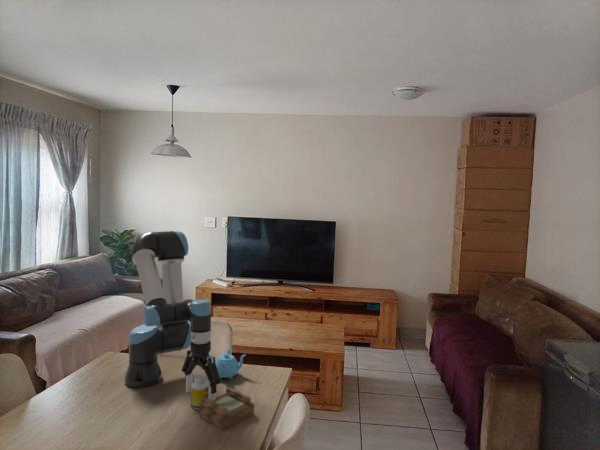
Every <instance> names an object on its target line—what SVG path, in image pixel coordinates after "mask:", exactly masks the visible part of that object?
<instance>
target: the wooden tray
mask: <svg viewBox="0 0 600 450" xmlns="http://www.w3.org/2000/svg"><path fill="white" fill-rule="evenodd" d="M225 389H226V390H225V393H222V394H221V395H219V396H217V397H216V399H215V401H211V400H209V399H207V398H204V399H203V404H202V405H200V406H199V409H198V413H199V417H200V418H202V419H203V420H206V422H209V423H211V424H212V425H214V426H216V427H218V428H220V429H222V430H224V431H227V430H229V429H230V428H232V427H234V426H235V425H237V424H239V423H241V422H243V421H244V420H246V419H248V418H249V417H251V416H253V415H255V414H254V413H255V403H253V402H252V400H251V396H249V395H247V394H245V393H242V392H241V391H239V390H236V389H233V388H231V387H226V388H225Z"/></svg>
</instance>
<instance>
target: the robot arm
mask: <svg viewBox="0 0 600 450" xmlns="http://www.w3.org/2000/svg"><path fill="white" fill-rule="evenodd" d="M187 239H188V238H187V237H186V235H185V234H184V233H183V231H179V230H178V231H175V230H170V231H169V230H168V231H167V230H166V231H147V232H145V233H143V234H141V235H139V236H138V237H137V238H136V240H135V241H134V242H133V245H132V246H131V253H130V255H131V260H132V263H133V264H135V266H136V269H137V274H138V276H139V277H138V278H139V281H140V284H141V289H142V292H143V296H144V301H145V306H144V307H143V309H142V321H143V324H141V325H138V326H135V327H134V328H133V329H131V331H130V332H129V334H128V335H129V336H128V365H127V369H126V372H125V375H124V385H126V386H127V387H130V388H134V389H135V388H136V389H137V388H148V387H151V386H155V385H156V384H158V383H159V382H160V381H162V378H163V375H162V374H163V372H162V369H161V367H160V364H159V358H158V356H159V355H162V354H168V353H172V352H178V351H179V352H180V351H183V350H186V349H189V348H190V350H187V351H186V356H185V359H184V363H183V365H182V368H181V372H182V373H184V376H185V392H186V393H190V392H191V386H192V383H193V382H194V374H193V371H194V369H195V368H196V366H199V367H200V368H201V369H202V370H203V371H204V374H205V375H206V379H207V380H208V383H209V400H211V401H215V399H216V398H217V397H216V396H217V395H216V394H217V385H219V384H221V379H220V377H219V374H218V370H217V367H216V363H215V362H216V357H215V356H212V357H209V355H210V354H209V353H210V351H211V350H212V349H211V348H212V341H211V340H212V330H211V329H212V306H211V304H212V303H211V301H210V300H208V299H195V300H194V299H189V298H188V299H184V290H183V272H182V263H183V262H184V261H185V257H186V256H187V255H188V254H189V243H188V240H187ZM156 258H157V261H158V263H159V264H160V265H161V276H162V277H160V274H159V271H158V268H157V264H156V261H155V259H156ZM161 279H162V280H161Z"/></svg>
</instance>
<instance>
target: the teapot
mask: <svg viewBox="0 0 600 450" xmlns="http://www.w3.org/2000/svg"><path fill="white" fill-rule="evenodd" d="M245 356H246V354H242V355H241V356H240V357H239V362H238V360H237V358H236V357H235V356H234V355H232V354H231V347H230V346H229V347H228V348H227V352H226V353H223V354H222V355H220V356H218V357H217V358H216V360H215V363H216V367H217V370H218V374H219V377H220V380H222V379H223V378H225V379H226V378H228V379H229V380H233V379H234V377H235V376H236V375H237V374H238V373H239V371H240V369H241V368H242V367H243V363H244V362H243V361H244V358H245ZM209 357H213V355H211V354H209Z"/></svg>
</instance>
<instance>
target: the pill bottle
mask: <svg viewBox="0 0 600 450" xmlns="http://www.w3.org/2000/svg"><path fill="white" fill-rule="evenodd" d="M209 385H210V382H209V381H207V376H206V373H196V374H195V375H193V383H192V386H191V391H190V392H191V393H190V394H191V395H190V396H191V397H190V398H191V403H190V405H191V407H192V408H193V409H195V410H199V406H200V405H202V404H203V399H204V398H207V399H209Z"/></svg>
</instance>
